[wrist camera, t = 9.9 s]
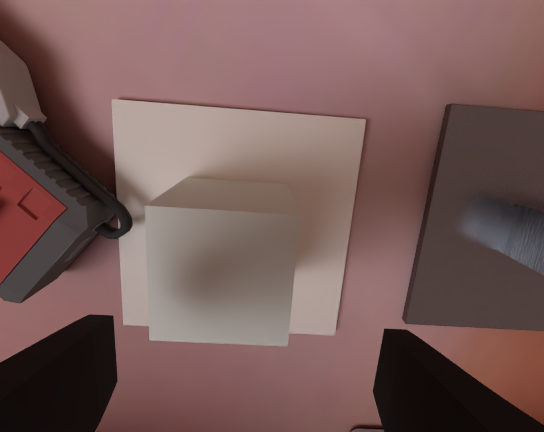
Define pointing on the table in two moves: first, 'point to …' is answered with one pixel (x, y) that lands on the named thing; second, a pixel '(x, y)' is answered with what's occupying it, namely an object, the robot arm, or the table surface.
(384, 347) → the robot arm
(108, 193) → the chainsaw
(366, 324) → the table surface
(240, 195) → the pale grey cube box
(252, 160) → the mat
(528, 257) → the post base
